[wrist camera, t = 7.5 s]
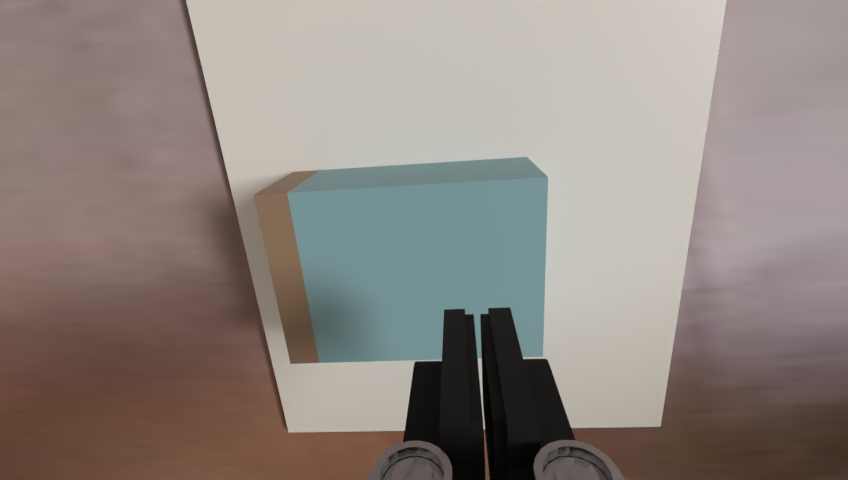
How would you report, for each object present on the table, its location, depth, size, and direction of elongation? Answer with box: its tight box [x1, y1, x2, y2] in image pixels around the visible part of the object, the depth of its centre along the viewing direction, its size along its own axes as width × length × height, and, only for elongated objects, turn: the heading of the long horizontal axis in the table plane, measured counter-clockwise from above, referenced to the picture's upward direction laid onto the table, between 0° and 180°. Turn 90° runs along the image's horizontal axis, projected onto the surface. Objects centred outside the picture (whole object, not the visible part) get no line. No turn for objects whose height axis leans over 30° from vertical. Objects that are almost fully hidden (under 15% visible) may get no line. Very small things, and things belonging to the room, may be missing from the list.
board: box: [186, 0, 726, 432], centre depth 19 cm, size 20×22×1 cm
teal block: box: [254, 157, 548, 364], centre depth 17 cm, size 4×7×10 cm
